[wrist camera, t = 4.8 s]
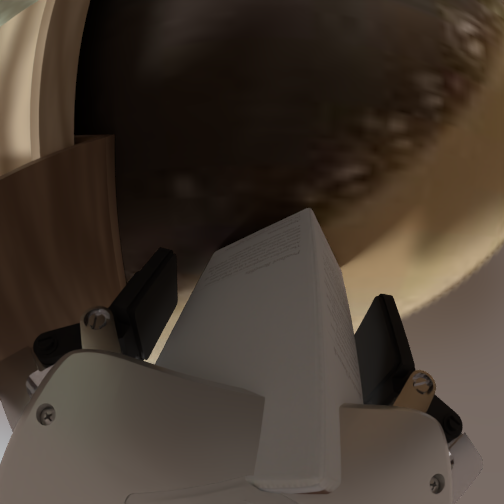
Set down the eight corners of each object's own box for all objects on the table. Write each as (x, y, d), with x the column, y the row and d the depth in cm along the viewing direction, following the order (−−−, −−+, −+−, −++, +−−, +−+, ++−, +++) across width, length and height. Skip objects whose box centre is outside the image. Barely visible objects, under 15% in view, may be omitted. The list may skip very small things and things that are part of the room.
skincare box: (252, 302, 17) (201, 501, 7) (211, 246, 15) (101, 459, 5) (346, 266, 14) (372, 505, 4) (311, 196, 13) (319, 495, 2)
